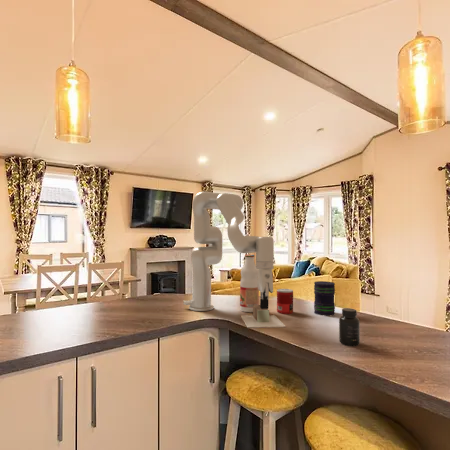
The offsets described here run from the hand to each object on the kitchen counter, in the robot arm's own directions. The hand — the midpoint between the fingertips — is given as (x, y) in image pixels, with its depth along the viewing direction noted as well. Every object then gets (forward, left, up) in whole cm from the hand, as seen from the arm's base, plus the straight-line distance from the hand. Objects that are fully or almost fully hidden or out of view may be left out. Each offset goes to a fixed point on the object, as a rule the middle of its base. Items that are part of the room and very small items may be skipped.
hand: (264, 308), depth 137 cm
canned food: (+15, +20, -7) cm, 26 cm away
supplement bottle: (+25, -26, -7) cm, 37 cm away
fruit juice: (-2, +25, -7) cm, 26 cm away
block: (0, +2, -4) cm, 4 cm away
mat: (0, +4, -7) cm, 8 cm away
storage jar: (+34, +17, -7) cm, 39 cm away
